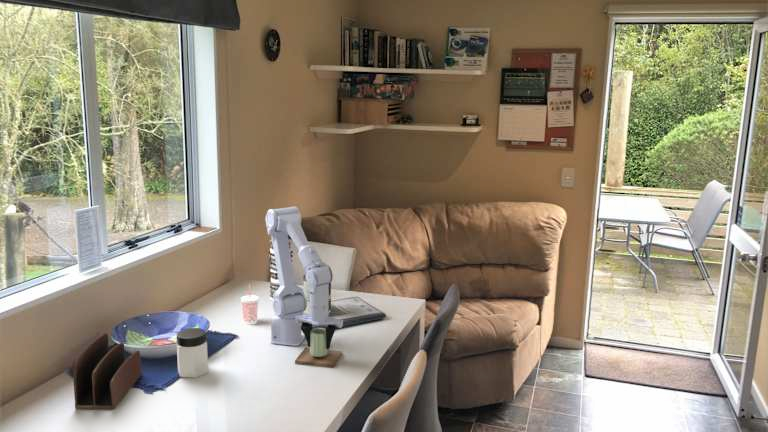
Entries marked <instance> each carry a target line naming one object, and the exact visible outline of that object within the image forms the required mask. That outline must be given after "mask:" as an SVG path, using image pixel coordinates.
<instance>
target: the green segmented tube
mask: <svg viewBox="0 0 768 432" xmlns="http://www.w3.org/2000/svg"><path fill="white" fill-rule="evenodd" d="M326 341H327V339H326V328H323V327H316V328H314V327H313V328H312V330H311V331H310V347H309V348H310V354H311V355H312V356H317V357H321V356H325V355H327V354H328V350H329V349H326Z"/></svg>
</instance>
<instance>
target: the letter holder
mask: <svg viewBox="0 0 768 432" xmlns="http://www.w3.org/2000/svg"><path fill="white" fill-rule="evenodd" d="M142 371H143V370H142V362H141V353H140V350H136V351H135V352H133V353H132V354H130V355H129V357H127V358H126V357H125V344H124V342H122V341H121V342H119V343H118V344H117V345H115V346H113V348H111V349H110V350H109V334H108V332H103V333H101V334H100V335H98V336H97V337H95V338H94V339H93V340H92V341H91V342H90V343H89V344H88V345H87V346H86V347H85V348H84V349H83V350H82V351H81V352H80V353H79V354H78V355H77V357H76V358H75V359H74V361H73V363H72V376H73V377H72V380H73V390H74V391H73V393H74V394H73V395H74V407H75V409H76V410H115V408H116V407H117V406H118V404H119V403H120V402H121V401H122V399H123V398H124V397H125V396H126V395H127V394H128V392H129V391H130V390H131V389H132V388H133V386H134V385H135V384H136V383H137V381H138V380H139V379H140V377H141V376H142V375H143V372H142ZM141 374H142V375H141ZM138 378H139V379H138ZM137 379H138V380H137Z"/></svg>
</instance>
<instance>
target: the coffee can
mask: <svg viewBox="0 0 768 432" xmlns="http://www.w3.org/2000/svg"><path fill="white" fill-rule="evenodd" d="M302 278H303V279H302V280H303V292H304V295H305V297H306V300H307V308H306V310H305V311H307V312H310V291H308V284H307V281H306V274H304V275H303V276H302ZM330 309H331V310H332V282H331V283H329V310H330Z"/></svg>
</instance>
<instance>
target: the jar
mask: <svg viewBox="0 0 768 432" xmlns="http://www.w3.org/2000/svg"><path fill="white" fill-rule="evenodd" d="M176 358H177V361H176V362H177V372H178V375H179V377H180V378H189V379H191V378H193V379H196V378H198V377H200V376H203V375H205V374H208V373H209V363H208V362H209V361H208V358H209V357H208V341H207V331H206V330H205V329H203V328H200V327H189V328H185V329H181V330H179V331H177V333H176Z"/></svg>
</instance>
